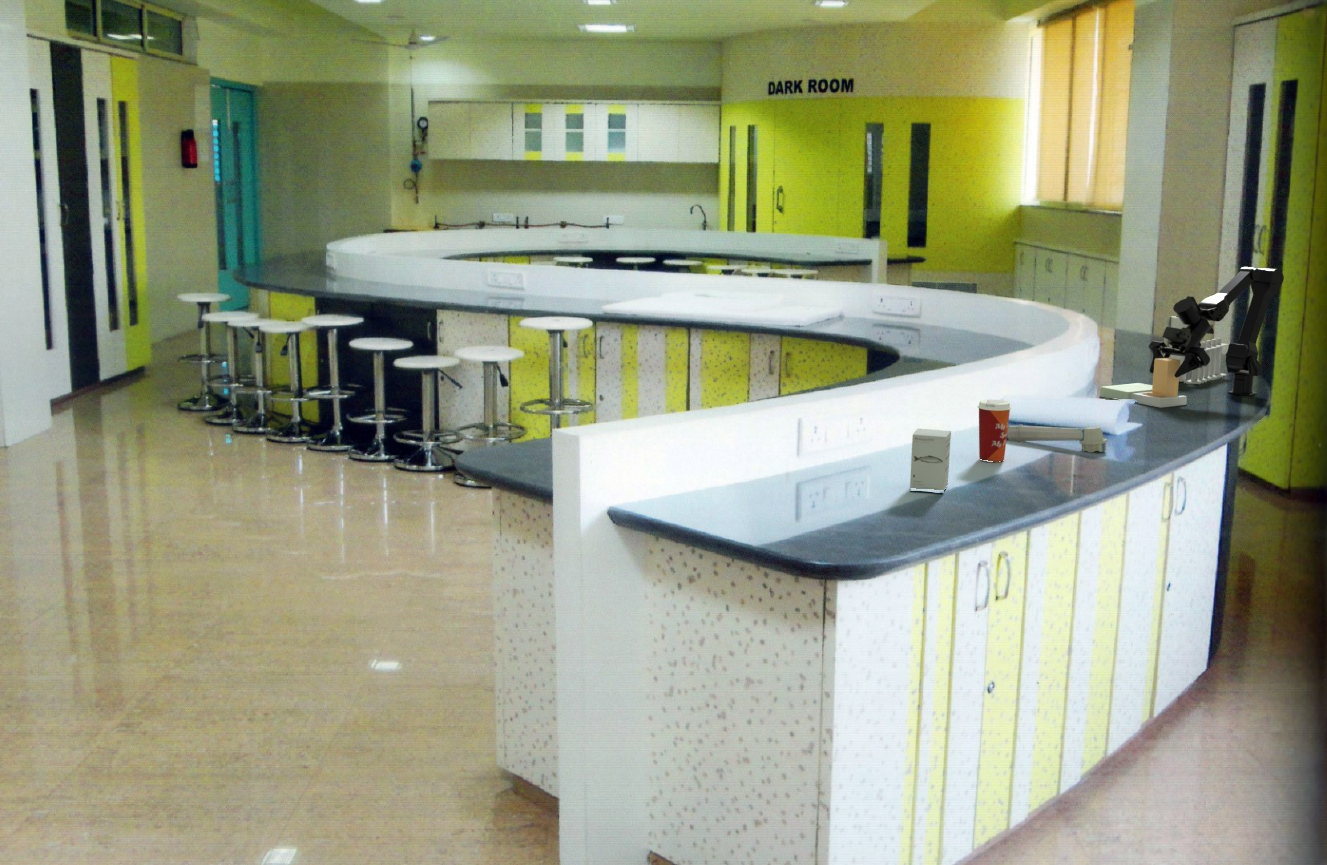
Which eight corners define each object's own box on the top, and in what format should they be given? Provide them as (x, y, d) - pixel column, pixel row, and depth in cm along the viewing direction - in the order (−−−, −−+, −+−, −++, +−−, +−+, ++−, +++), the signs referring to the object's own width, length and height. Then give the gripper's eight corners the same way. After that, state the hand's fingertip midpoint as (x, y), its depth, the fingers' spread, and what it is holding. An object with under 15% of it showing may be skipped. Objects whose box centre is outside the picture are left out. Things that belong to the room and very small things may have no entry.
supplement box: (908, 492, 253) (911, 434, 250) (914, 484, 260) (916, 427, 257) (944, 495, 250) (946, 436, 248) (949, 486, 257) (951, 429, 254)
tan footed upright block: (1163, 400, 358) (1166, 357, 355) (1176, 403, 353) (1180, 359, 351) (1146, 402, 355) (1149, 359, 352) (1159, 405, 350) (1163, 361, 348)
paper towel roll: (1187, 380, 395) (1192, 316, 390) (1184, 382, 390) (1189, 317, 385) (1164, 378, 398) (1169, 314, 394) (1160, 381, 393) (1165, 316, 389)
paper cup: (1003, 465, 276) (1006, 406, 274) (970, 461, 280) (973, 402, 278) (1012, 458, 283) (1015, 400, 280) (980, 455, 287) (983, 397, 284)
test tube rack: (1197, 385, 386) (1201, 344, 383) (1183, 383, 389) (1187, 343, 386) (1226, 376, 403) (1230, 337, 400) (1213, 375, 406) (1216, 336, 403)
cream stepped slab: (1137, 392, 372) (1138, 382, 371) (1195, 403, 353) (1196, 393, 352) (1099, 396, 365) (1100, 386, 365) (1156, 408, 346) (1157, 397, 345)
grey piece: (1011, 423, 306) (1108, 421, 290) (1013, 449, 307) (1110, 448, 290) (1002, 426, 302) (1101, 425, 286) (1005, 452, 303) (1103, 452, 287)
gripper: (1155, 314, 359) (1125, 352, 357) (1206, 320, 343) (1176, 360, 340) (1172, 338, 364) (1142, 376, 362) (1223, 345, 348) (1193, 385, 345)
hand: (1162, 374), depth 352 cm, fingers open, 9 cm apart
